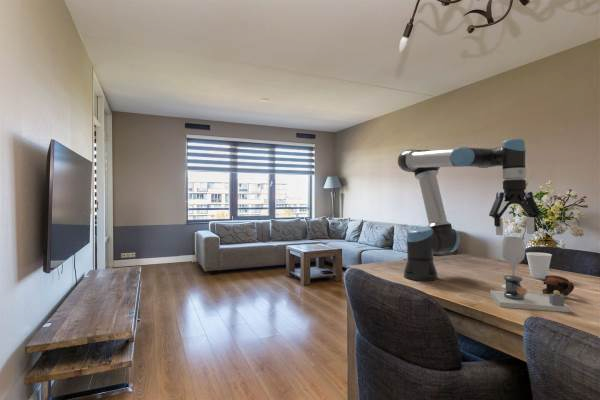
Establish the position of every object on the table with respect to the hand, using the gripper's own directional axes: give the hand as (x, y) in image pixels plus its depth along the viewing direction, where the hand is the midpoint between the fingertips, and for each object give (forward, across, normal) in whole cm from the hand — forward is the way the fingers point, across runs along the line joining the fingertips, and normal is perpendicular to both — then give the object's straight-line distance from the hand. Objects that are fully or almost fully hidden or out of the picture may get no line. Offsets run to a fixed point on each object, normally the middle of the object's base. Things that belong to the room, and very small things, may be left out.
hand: (515, 234), depth 127 cm
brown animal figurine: (+24, +15, -4) cm, 28 cm away
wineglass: (+23, +6, +8) cm, 25 cm away
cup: (+23, +31, +21) cm, 44 cm away
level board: (+23, -4, -9) cm, 25 cm away
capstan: (+21, -9, -10) cm, 25 cm away
